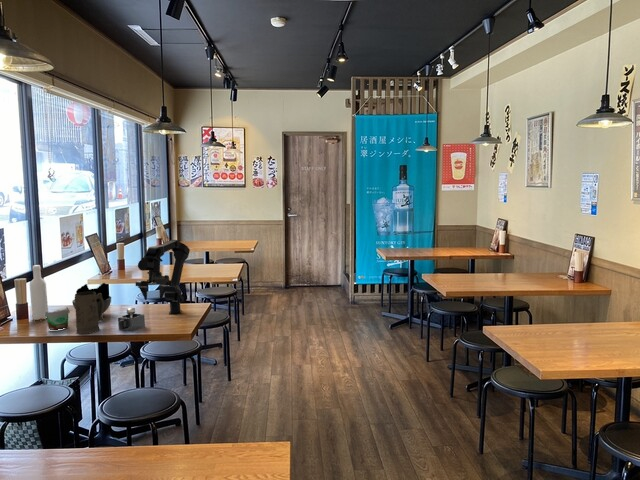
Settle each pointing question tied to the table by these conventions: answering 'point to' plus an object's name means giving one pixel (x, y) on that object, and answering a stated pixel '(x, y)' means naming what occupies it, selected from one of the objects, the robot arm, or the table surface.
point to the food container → (57, 319)
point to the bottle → (38, 294)
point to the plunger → (130, 311)
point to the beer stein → (88, 312)
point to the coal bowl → (100, 289)
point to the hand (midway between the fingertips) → (153, 299)
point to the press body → (131, 322)
